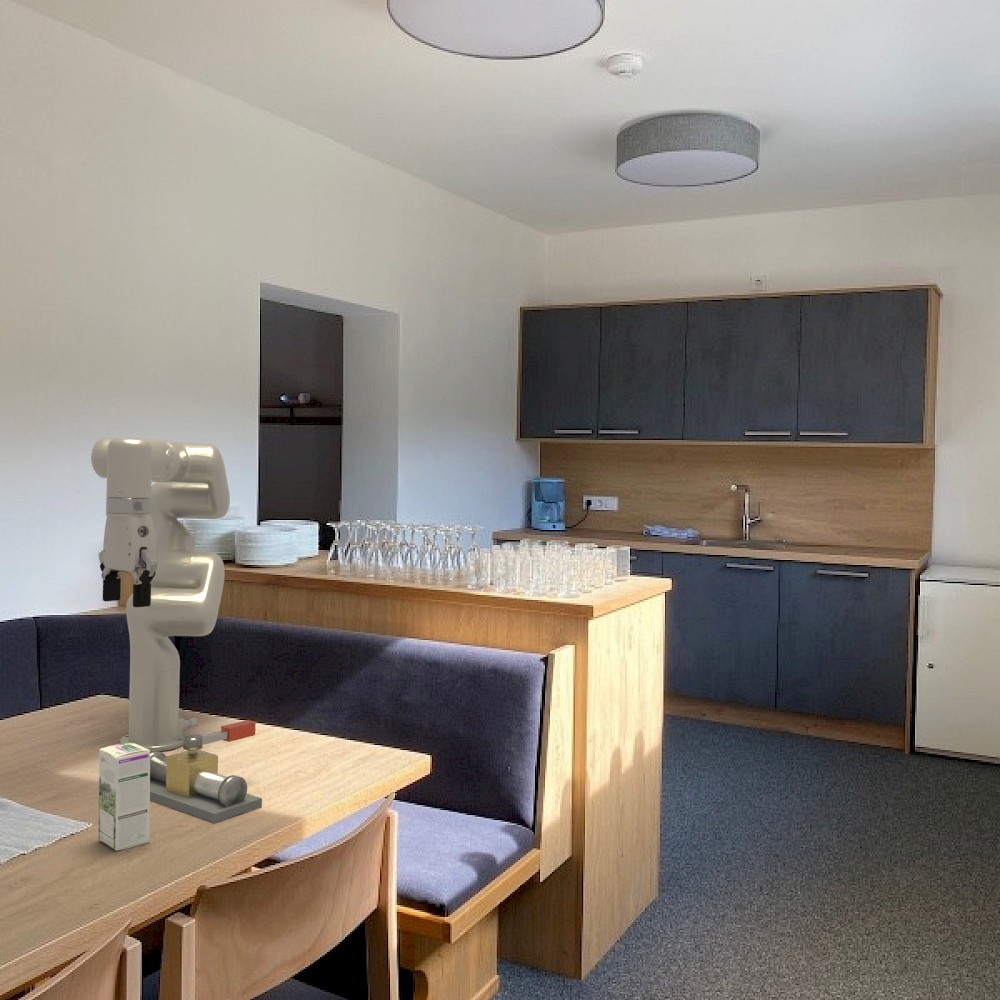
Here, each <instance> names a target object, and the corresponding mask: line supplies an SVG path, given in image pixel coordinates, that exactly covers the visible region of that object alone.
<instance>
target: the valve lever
mask: <svg viewBox="0 0 1000 1000" xmlns="http://www.w3.org/2000/svg"><path fill="white" fill-rule="evenodd" d="M256 723H257V722H256V721H252V720H249V719H246V720H245V719H244V720H242V721H236V722H233V723H230V724H226V725H221V726H220V730H218V731H214V732H210V733H205V734H187V735H185V736H184V737H183V745H182V749H183V750H184V751H188V755H189V756H195V755H197V751H198V750H201V749H203V746H204V745H208V744H212V743H216V742H220V741H223V742H227V743H231V742H235V741H239V740H242V739H246V738H250V737H254V736H256Z"/></svg>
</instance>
